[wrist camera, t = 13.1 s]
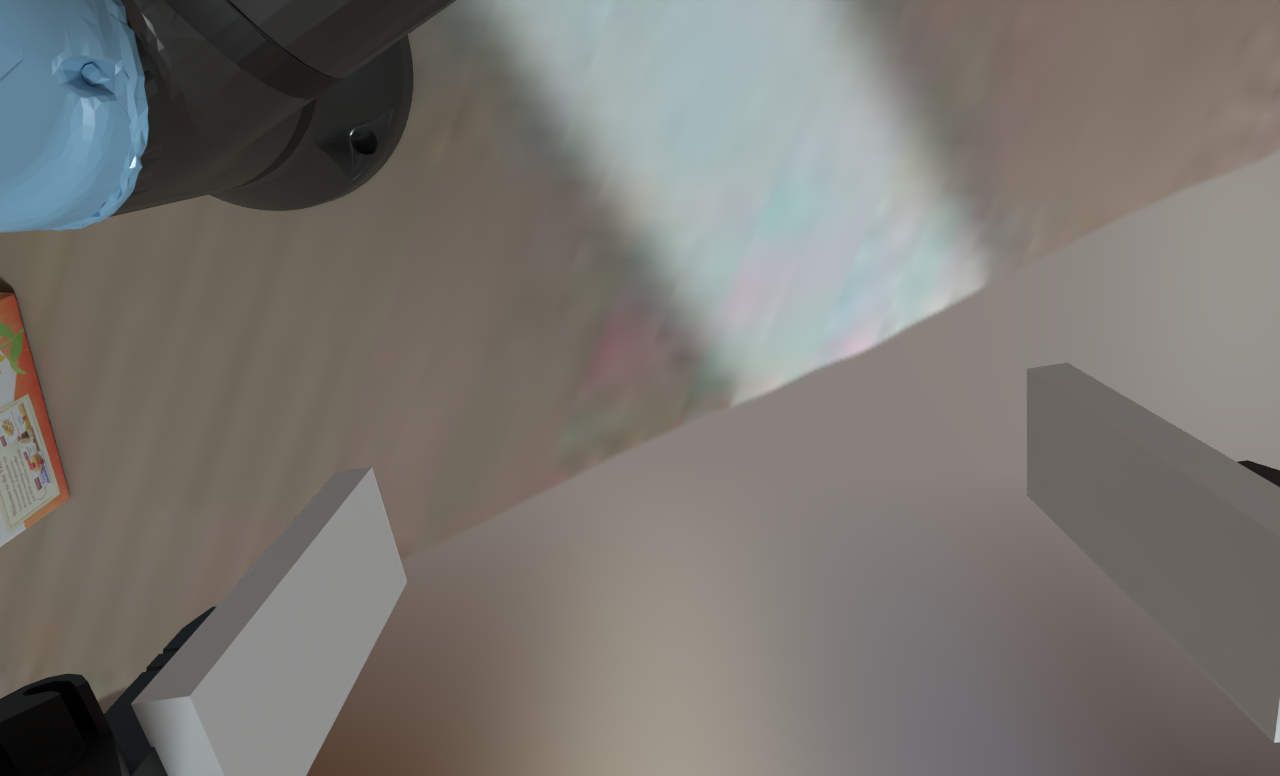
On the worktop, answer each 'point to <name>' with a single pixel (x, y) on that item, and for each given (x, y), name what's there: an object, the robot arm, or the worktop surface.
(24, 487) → the cracker box
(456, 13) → the worktop surface
